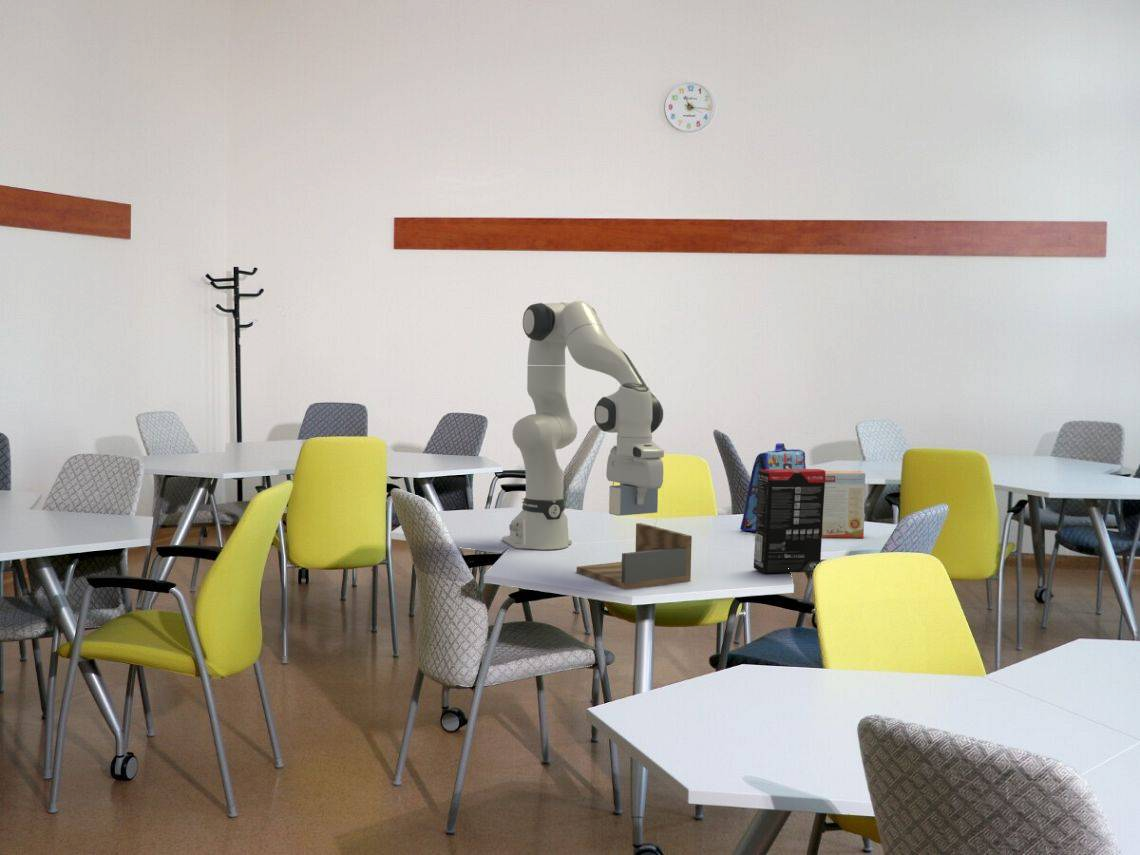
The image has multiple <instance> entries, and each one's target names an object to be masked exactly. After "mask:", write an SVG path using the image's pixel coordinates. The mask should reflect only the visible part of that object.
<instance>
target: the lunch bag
mask: <svg viewBox="0 0 1140 855" xmlns="http://www.w3.org/2000/svg"><path fill="white" fill-rule="evenodd" d="M765 469H807V467H806V452H805V451H803V450H802V449H797V448H796V449H794V448H793V449H791V448H790V449H787V448H786V447H785V443H783V442H780V443H779V442H777V443H776V444H775V447H774V450H769V451H766V452H761V453H758V454H757V456H756V458H755V460H754V463H753V466H752V471H751V474H750V480H749V485H748V489H747V490H748V491H747V494H746V499H745V504H744V510H743V514H742V515H743V517H742V521H741V524H740V531H744V532H745V531H749V532H753V533H754V532H755V533H756V515H757V495H758V474H759V470H765Z"/></svg>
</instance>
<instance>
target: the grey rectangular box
mask: <svg viewBox="0 0 1140 855" xmlns="http://www.w3.org/2000/svg"><path fill="white" fill-rule="evenodd" d="M608 490H609V492H608V493H609V495H608V496H609V497H608V498H609V500H608V513H609V514H610V515H614V516H633V515H644V514H657V513H658V508H659V506H658V501H659V500H658V499H659V498H658V497H659V496H658V495H659V489H647V492H646V494H645V497H644V504H642V505H638V504H635V497H637V494H638V491H637V486H632V485H620V484H619V485H617V484H616V485H609V489H608Z"/></svg>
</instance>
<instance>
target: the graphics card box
mask: <svg viewBox="0 0 1140 855" xmlns="http://www.w3.org/2000/svg"><path fill="white" fill-rule="evenodd" d="M825 471H826V470H824V469H821V468H806V469H765V470H759V474H758V495H757V515H756V532H755V535H754V536H755V537H754V554H753V569H754V570H757V571H758V572H761V573H763V574H780V573H782V574H783V573H784V574H785V573H786V574H788V573H813V572H812V570H813V568H814V566H816V565H817V564H818V563H819V562H820V563H821V558H822V539H823V538H822V524H823V507H824V491H825V475H826V473H825ZM788 568H789V569H788Z"/></svg>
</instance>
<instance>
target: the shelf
mask: <svg viewBox="0 0 1140 855" xmlns="http://www.w3.org/2000/svg"><path fill="white" fill-rule="evenodd" d="M692 539H693V536H692V535H690V534H686V533H682V532H679V531H674V530H669V529H665V528H661V527H659V526H658V527H657V526H655V525H651V524H646V523H642V522H638V523H635V552H641V551H650V550H660V549H670V548H680V547H684V548H687V555H686V576H681V577H672V578H664V579H656V580H647V581H639V582H631V583H623V582H621V578H622V561H617V562H607V563H599V564H590V565H589V564H587V565H581V566H579V565H577V566H576V573H577V574H580V575H583V576H586V577H589V578H591V579H595V580H598V581H600V582H603V583H605V584H606V583H607V584H609V585H611V586H615V587H617V588H619V589H623V590H631V589H637V588H638V589H639V588H645V587H647V588H648V587H654V586H662V585H663V586H664V585H670V584H671V585H672V584H679V583H688V582H692V581H691V578H692V577H691V576H692V575H691V574H692V573H691V572H692V542H693V541H692Z"/></svg>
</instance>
